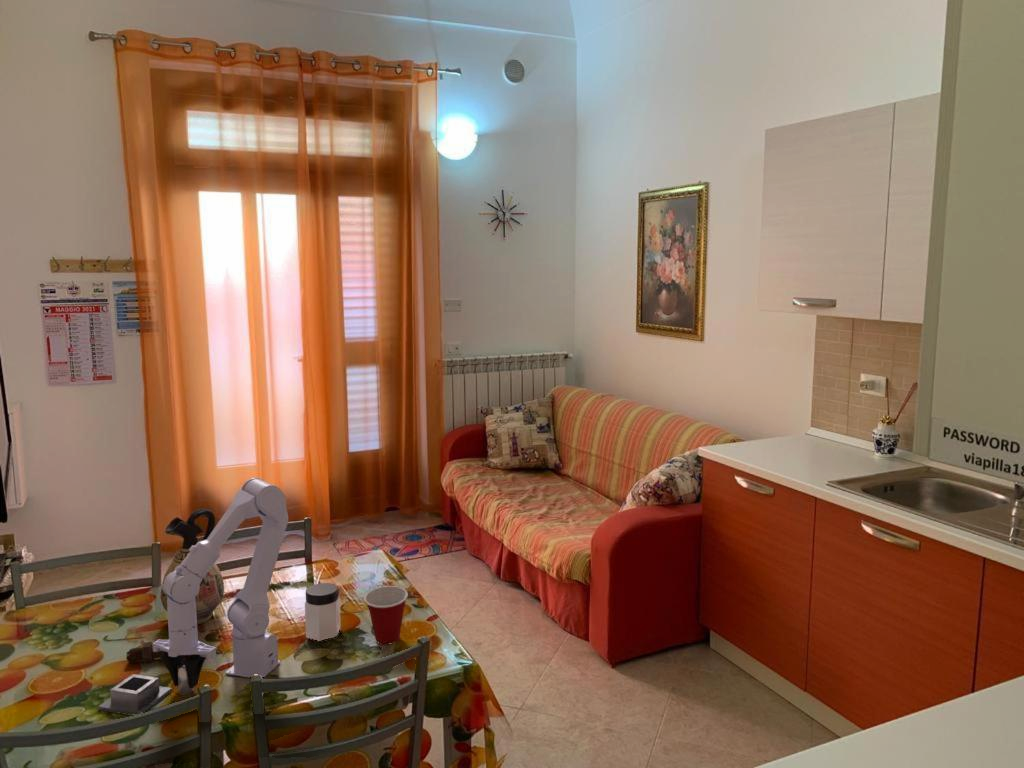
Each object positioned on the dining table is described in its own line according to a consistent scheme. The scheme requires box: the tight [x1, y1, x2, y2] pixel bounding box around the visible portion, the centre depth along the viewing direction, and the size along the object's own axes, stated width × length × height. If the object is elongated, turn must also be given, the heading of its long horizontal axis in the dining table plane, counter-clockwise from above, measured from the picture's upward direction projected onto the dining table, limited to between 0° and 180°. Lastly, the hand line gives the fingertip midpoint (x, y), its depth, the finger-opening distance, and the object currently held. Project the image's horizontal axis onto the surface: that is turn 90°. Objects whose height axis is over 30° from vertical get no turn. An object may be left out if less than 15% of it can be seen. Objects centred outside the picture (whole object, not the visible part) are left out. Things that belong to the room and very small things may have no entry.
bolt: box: [126, 641, 190, 664], centre depth 179 cm, size 6×5×15 cm
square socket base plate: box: [97, 673, 173, 716], centre depth 161 cm, size 10×10×4 cm
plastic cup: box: [363, 585, 409, 645], centre depth 188 cm, size 11×11×12 cm
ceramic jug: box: [160, 507, 227, 625], centre depth 199 cm, size 17×15×30 cm
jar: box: [304, 582, 341, 642], centre depth 191 cm, size 9×8×12 cm
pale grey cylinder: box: [177, 663, 196, 696], centre depth 165 cm, size 3×3×6 cm
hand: (186, 684), depth 165 cm, fingers closed on pale grey cylinder, 3 cm apart
